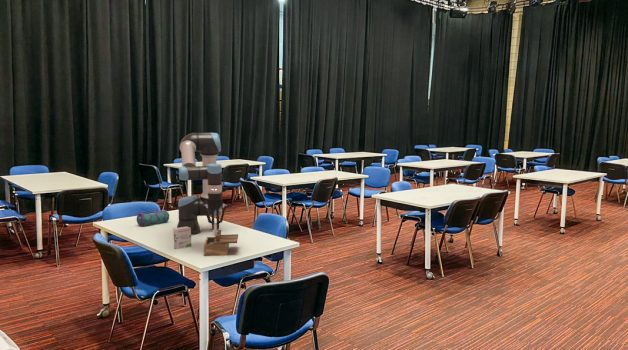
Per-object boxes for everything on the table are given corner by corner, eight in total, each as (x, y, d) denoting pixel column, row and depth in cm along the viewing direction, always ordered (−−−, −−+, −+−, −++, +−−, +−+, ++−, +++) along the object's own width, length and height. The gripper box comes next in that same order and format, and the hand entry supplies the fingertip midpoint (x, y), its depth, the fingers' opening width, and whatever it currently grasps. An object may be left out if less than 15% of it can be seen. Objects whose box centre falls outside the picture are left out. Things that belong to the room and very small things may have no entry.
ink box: (187, 246, 274) (187, 225, 273) (191, 247, 271) (191, 227, 269) (173, 248, 269) (173, 228, 267) (177, 250, 265) (176, 229, 264)
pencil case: (162, 221, 342) (162, 207, 341) (169, 222, 336) (169, 209, 335) (136, 226, 326) (135, 212, 325) (143, 227, 320) (142, 213, 319)
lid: (215, 236, 267) (215, 229, 267) (238, 235, 269) (238, 229, 268) (213, 243, 251) (213, 236, 251) (237, 243, 253) (236, 236, 252)
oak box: (207, 249, 267) (207, 237, 267) (229, 248, 269) (228, 236, 268) (204, 257, 252) (203, 244, 251) (227, 256, 253) (227, 243, 252)
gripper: (201, 193, 252) (202, 237, 255) (226, 193, 253) (227, 236, 256) (203, 191, 259) (204, 234, 262) (227, 191, 261) (228, 233, 263)
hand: (215, 235), depth 259 cm, fingers closed
